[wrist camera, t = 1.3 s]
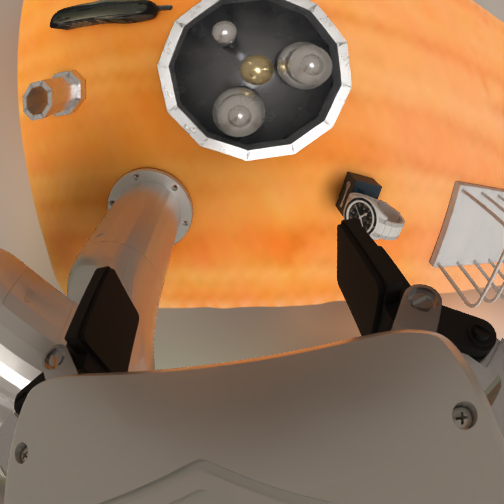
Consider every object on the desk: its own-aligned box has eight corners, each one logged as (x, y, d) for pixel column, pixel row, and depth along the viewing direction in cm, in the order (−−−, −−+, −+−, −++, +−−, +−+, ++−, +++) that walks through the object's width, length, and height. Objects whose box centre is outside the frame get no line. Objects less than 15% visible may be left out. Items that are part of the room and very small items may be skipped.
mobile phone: (46, 31, 19) (159, 15, 21) (49, 10, 17) (164, -9, 19) (66, 33, 23) (169, 22, 25) (69, 13, 21) (173, 1, 23)
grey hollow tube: (68, 121, 30) (38, 135, 24) (43, 97, 27) (12, 106, 21) (93, 88, 28) (65, 94, 22) (68, 63, 26) (36, 66, 19)
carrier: (241, 183, 38) (243, 203, 33) (130, 68, 28) (112, 69, 23) (370, 92, 31) (392, 98, 26) (268, -34, 21) (275, -52, 16)
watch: (335, 168, 38) (367, 203, 29) (382, 181, 39) (420, 217, 30) (323, 204, 41) (349, 246, 32) (369, 213, 42) (401, 255, 33)
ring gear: (242, 182, 37) (243, 191, 35) (131, 68, 27) (123, 68, 24) (370, 92, 30) (380, 95, 28) (269, -34, 20) (272, -42, 18)
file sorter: (521, 192, 41) (567, 230, 28) (497, 256, 51) (533, 298, 38) (454, 180, 39) (514, 228, 27) (428, 262, 49) (468, 318, 37)
